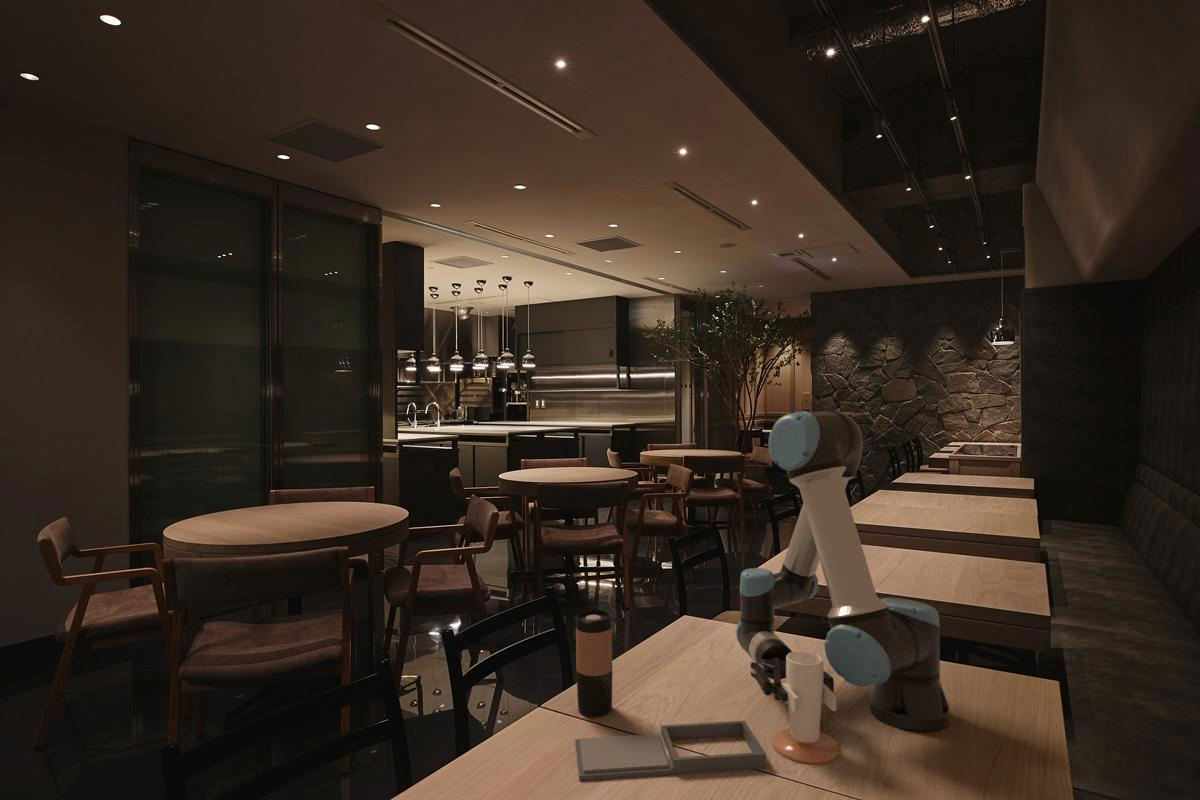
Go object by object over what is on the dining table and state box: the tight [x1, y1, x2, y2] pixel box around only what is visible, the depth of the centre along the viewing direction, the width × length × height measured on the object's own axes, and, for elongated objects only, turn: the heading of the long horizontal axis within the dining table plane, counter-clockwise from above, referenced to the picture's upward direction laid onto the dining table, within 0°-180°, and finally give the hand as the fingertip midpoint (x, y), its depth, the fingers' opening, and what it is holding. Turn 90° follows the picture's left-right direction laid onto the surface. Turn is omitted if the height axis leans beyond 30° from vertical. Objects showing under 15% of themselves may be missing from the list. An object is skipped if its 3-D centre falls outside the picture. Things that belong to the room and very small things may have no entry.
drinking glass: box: [785, 650, 824, 743], centre depth 128 cm, size 7×7×15 cm
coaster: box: [771, 727, 840, 765], centre depth 128 cm, size 12×12×1 cm
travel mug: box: [575, 609, 613, 718], centre depth 144 cm, size 8×8×20 cm
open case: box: [574, 720, 767, 781], centre depth 126 cm, size 33×13×2 cm, turn 95°
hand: (815, 704), depth 123 cm, fingers closed on drinking glass, 6 cm apart
